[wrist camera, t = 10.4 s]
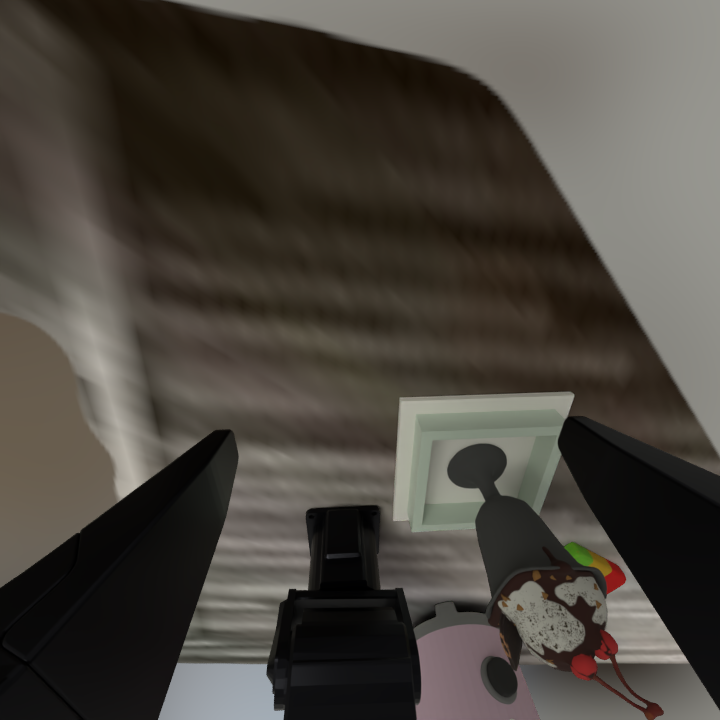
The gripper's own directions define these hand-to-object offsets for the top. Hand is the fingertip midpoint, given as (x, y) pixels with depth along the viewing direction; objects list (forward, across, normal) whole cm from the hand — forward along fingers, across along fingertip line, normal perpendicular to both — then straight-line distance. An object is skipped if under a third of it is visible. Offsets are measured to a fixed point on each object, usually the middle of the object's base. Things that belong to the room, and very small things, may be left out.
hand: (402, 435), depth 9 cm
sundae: (+13, -9, +14) cm, 21 cm away
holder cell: (+13, -9, +14) cm, 21 cm away
